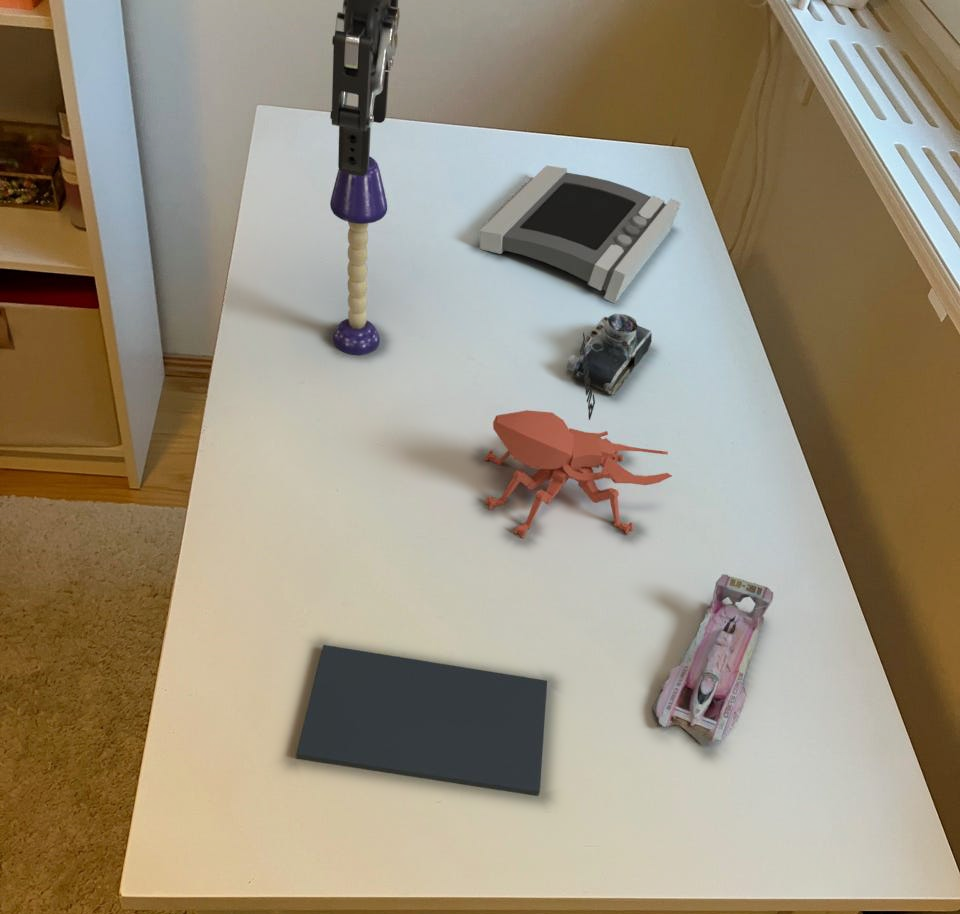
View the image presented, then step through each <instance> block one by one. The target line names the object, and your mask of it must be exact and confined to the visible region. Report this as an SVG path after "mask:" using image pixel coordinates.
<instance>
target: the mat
mask: <svg viewBox="0 0 960 914" xmlns="http://www.w3.org/2000/svg"><path fill="white" fill-rule="evenodd" d="M319 656H320V657H319V661H318V665H317V668H316V673H315V677H314V681H313V685H312V689H311V693H310V697H309V701H308V705H307V709H306V714H305V718H304V722H303V726H302V730H301V734H300V738H299V743H298V746H297V750H296V759H297V760H304V761H311V762H317V763H322V764H329V765H336V766H344V767H350V768H355V769H362V770H369V771H375V772H381V773H382V772H383V773H388V774H395V775H400V776H401V775H402V776H407V777H414V778H420V779H428V780H433V781H440V782H447V783H452V784H458V785H466V786H472V787H479V788H485V789H491V790H497V791H505V792H509V793H510V792H512V793H516V794H517V793H518V794H525V795H531V796H537V797H538V796H539V795H540V793H541V781H542V766H543V752H544V736H545V735H544V734H545V720H546V708H547V707H546V706H547V705H546V704H547V691H548V680H545V679H539V678H532V677H528V676H521V675H515V674H508V673H501V672H497V671H490V670H483V669H477V668H471V667H465V666H458V665H452V664H446V663H439V662H433V661H427V660H421V659H416V658H415V659H414V658H408V657H402V656H395V655H390V654H384V653H383V654H382V653H377V652H371V651H365V650H358V649H353V648H352V649H351V648H348V647H347V648H345V647H339V646H334V645H327V644H323V645H322V648H321V652H320V655H319Z"/></svg>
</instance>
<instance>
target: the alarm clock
mask: <svg viewBox="0 0 960 914" xmlns="http://www.w3.org/2000/svg"><path fill="white" fill-rule="evenodd" d="M681 204H682V202H679V201H677V200H675V199H673V198H670V199H669V201H667V203H665V200H664V199H662V198H660V197H657V196H655V195H654V194H652V195H651V196H650V195H648V194H646V193H643V192H641V191H639V190H637V189H634V188H631V187H629V186H626V185H623V184H619V183H616V182H614V181H611V180H608V179H603V178H597V177H593V176H591V175H590V176H589V175H584V174H578V173H571V172H568V168H566V167H560V166H554V165H545V166H544V167H543V168H542V169H541V170H540V171H539V172H538V173H537V174H536V175H535V176H534V177H532V178H531V177H530V179H529V180H527V181H526V182H525V183H524V184H523V185H522V186H521V187H520V188H519V189H518V190H517V191H516V192H515V193H514V194H513V195H512V196H510V198H509V199H507V201H506V202H504V203H503V205H502V206H500V207H499V209H497V210H496V211H495V213H493V214H492V215H491V216H490V217H489V218H488V221H487V222H486V224H485V225H484V226H483V227H481V229H479V250H484V251H487V252H490V253H495V254H499V255H502V254H503V252H510V253H514V254H517V255H522V256H525V257H528V258H531V259H534V260H536V261H540V262H543V263H545V264H548V265H550V266H553V267H554V268H557V269H559V270H562V271H565V272H567V273H569V274H571V275H572V276H575V277H577V278H579V279H581V280H583V281H585V282H587V285H588V286H590V287H592V288H594V289H596V290H598V291H600V292H601V291H602V290H603V291H605V294H604V296H603V299H604V300H606V301H608V302H610V303H612V304H615V303H616V302H617V301H618V300H619V298H620V297H621V296H622V295H623V293H624V292H625V291H626V289H627V288H628V287H629V285H630V284H631V282H632V281H633V280H634V279H635V278H636V276H637V275H638V274H639V272H640V271H641V270H642V268H643V267H644V266H645V264H647V262H648V260H649V259H650V258H651V256H652V255H653V254H654V253H655V252H656V250H657V249H658V248H659V246H660V245H661V243H662V242H663V241H664V239H665V238H666V237H667V236H668V234H669V233H670V232H671V229H672V227H673V224H674V222H675V219H676V217H677V215H678V211H679V209H680V207H681ZM672 223H673V224H672ZM669 227H670V228H669Z"/></svg>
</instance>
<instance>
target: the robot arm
mask: <svg viewBox="0 0 960 914" xmlns="http://www.w3.org/2000/svg"><path fill="white" fill-rule="evenodd" d="M400 17H401V15H400V8H399V0H343V3H342V11H337V14H336V18H335V28H334V35H333V36H332V45H333V48H332V49H333V55H332V87H331V91H332V93H331V97H332V98H331V111H330V115H329V117H330V118H329V119H330V120H331V125H332V126H335V127H338V156H337V157H338V158H337V159H338V160H337V162H338V163H337V166H338V170H340V171H341V172H343V173H346V174H352V175H357V176H365V175H366V174H367V171H368V168H369V156H370V151H371V131H372V124H374V123H376V124H377V123H378V124H382V123H384V122H385V120H386V117H387V109H388V93H389V91H388V90H389V75H390V71H391V69H392V67H393V66H394V58H393V57H395V55H396V51H397V47H398V29H399V22H400ZM348 94H351V95H357V96H358V97H357V106H354V105H349V104H347V102H348V96H349V95H348Z"/></svg>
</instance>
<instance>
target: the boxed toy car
mask: <svg viewBox="0 0 960 914" xmlns="http://www.w3.org/2000/svg"><path fill="white" fill-rule="evenodd" d="M727 598H728V599H729V601H730V602H731V603H727V604H726V603H724V602H723V601H724V600H726V599H727ZM745 598H750V599H751V600H752V601H753V603H754V606H753V608H752V610H751V611H750V612H748V611H746V610H742V609H740V608H739V606H738V605H736V603H741V602H742V601H743V599H745ZM773 599H774V592H773V591H772V589H770V588H769V587H767V586H764V585H762V584H759V583H756V582H751V581H748V580H745V579H742V578H738V577H734V576H729V575H728V574H721V575H720V577H719V578H718V579H717V580H716V581H715V587H714V590H713V595H712V600H711V602H710V605H709V606H708V608H707V609H706V611H705V612H706V613H705V615H704V619H703V620H702V622H701V623H700V624H699V628H698V631H696V632H697V633H696V635H695V637H694V638H693V639H692V642H691V643H690V644H689V647H688V648H687V650H686V652H685V653H684V655H683V656H682V657H681V659H680V660H681V662H680V663H679V665H677V666H675V667H672V668H671V669H670V671H669V672H668V673H669V676H668V679H667V680H665V682H663V683H662V685H661V686H660V689H661V690H662V691H661V693H660V694H659V695H658V697H657V698H656V699H655V700H654V703H653V705H652V710H653V712H654V714H655V716H656V718H657V719H658V723H659V725H660V726H662V727H663V728H667V727H671V726H674V725H677V726H680V727H681V728H682V729H684V730H685V731H686V732H687V733H688V734H690V735H691V736H692V737H693V738H694V739H695V740H696V741H697V742H698V743H699V744H701V745H702V747H705V746H706V745H710V744H713V743H715V742H719V741H721V740H722V739H723V737H725V736H726V735H727V734H729V732H730V731H731V729H732V727H733V726H734V725H735V723H736V722H737V721H738V719H739V717H740V716H741V713H742V710H743V708H744V705H745V702H746V699H747V692H746V689H745V686H744V685H745V680H746V676H747V670H748V668H749V666H750V662H751V658H752V655H753V652H754V650H755V647H756V644H757V642H758V638H759V635H760V633H761V630H762V628H763V624H764V619H765V617H764V615H765V613H766V612H767V610H768V609H769V607H770V606H771V604H772V602H773Z"/></svg>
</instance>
